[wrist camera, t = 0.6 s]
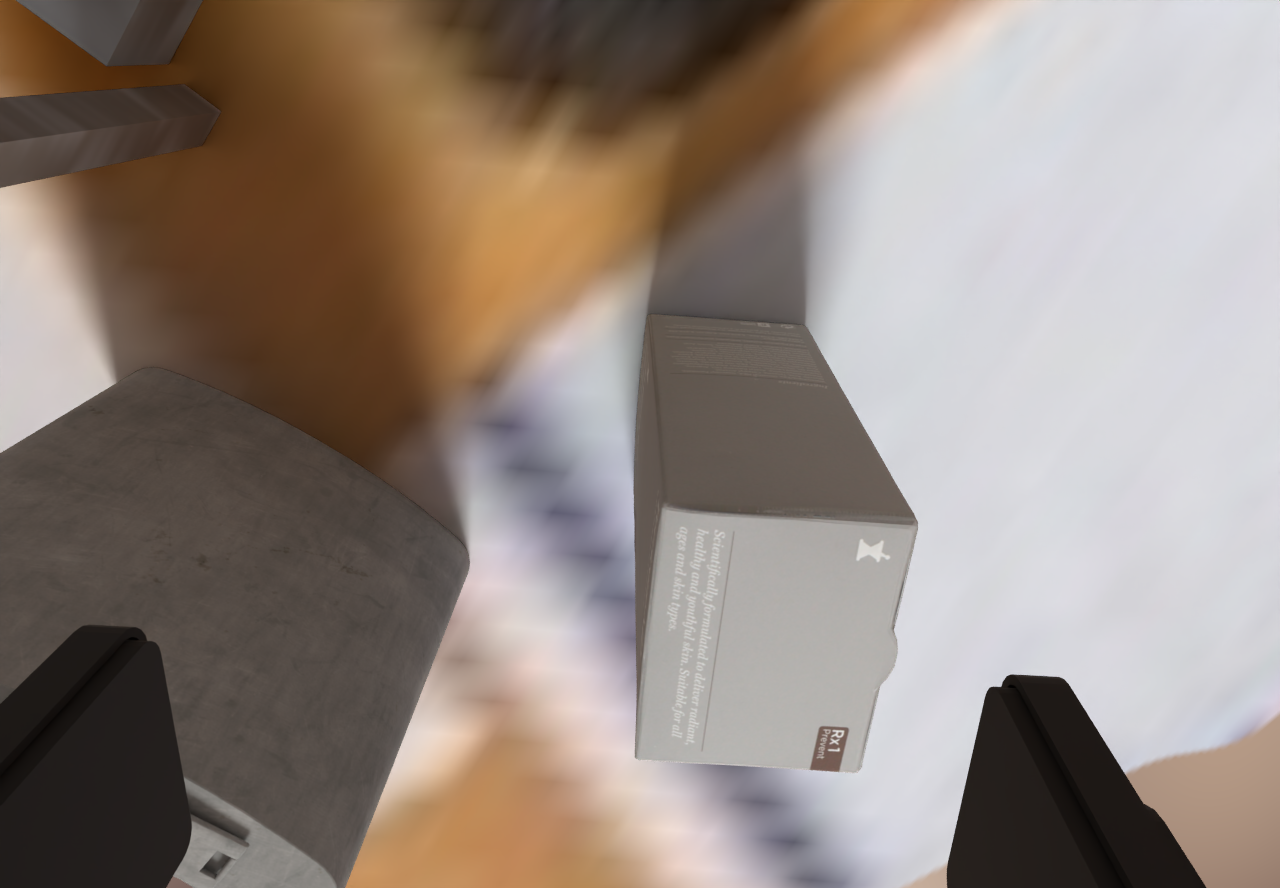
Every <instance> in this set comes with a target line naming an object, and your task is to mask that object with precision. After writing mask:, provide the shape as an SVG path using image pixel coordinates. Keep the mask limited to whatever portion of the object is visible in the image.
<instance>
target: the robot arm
mask: <svg viewBox="0 0 1280 888" xmlns="http://www.w3.org/2000/svg"><path fill="white" fill-rule="evenodd" d="M191 832H192V821H191V815H190V809H189V804H188V798H187V793H186V787H185V782H184V776H183V771H182V765H181V760H180V754H179V749H178V743H177V738H176V732H175V727H174V721H173V716H172V710H171V705H170V699H169V694H168V688H167V683H166V677H165V672H164V666H163V661H162V655H161V651H160V648H159V646H158V645H157V643H156V642H153V641H147V638H146V635H145V634H144V632H143V631H142V630H141V629H139V628H137V627H124V626H106V625H84V626H81V627H80V628H79V629H77V630H76V631H74V632H73V633H72V634H71V635H70V636H69V637H68V638H67V639H66V640H65V641H64V642H63V643H62V644H61V645H60V646H59V647H58V648H57V649H56V650H55V651H54V652H53V653H52V654H51V655H50V656H49V657H48V658H47V659H46V660H45V661H44V662H43V663H42V664H41V665H40V666H39V667H38V668H37V669H36V670H34V671H33V672H32V673H31V674H30V675H29V676H28V677H27V678H26V679H25V680H24V681H23V682H22V683H21V684H20V685H19V686H18V687H17V688H16V689H15V690H14V691H13V692H12V693H11V694H10V695H9V696H8V697H7V698H6V699H5V700H4V701H3V702H2V703H1V704H0V888H166V887H167V885H168V883H169V881H170V880H171V878H172V877H173V875H174V873H175V872H176V870H177V868H178V867H179V865H180V864H181V862H182V860H183V858H184V856H185V854H186V852H187V849H188V847H189V843H190V839H191ZM947 888H1206V887H1205V885H1204V883H1203V882H1202V880H1201V878H1200V877H1199V876H1198V874H1197V872H1196V871H1195V869H1194V868H1193V866H1192V864H1191V863H1190V861H1189V860H1188V859H1187V857H1186V855H1185V853H1184V852H1183V850H1182V849H1181V847H1180V846H1179V844H1178V843H1177V841H1176V839H1175V838H1174V836H1173V835H1172V833H1171V832H1170V830H1169V828H1168V827H1167V825H1166V824H1165V822H1164V821H1163V820H1162V818H1161V817H1160V816H1159V815H1158V814H1157V812H1156V811H1155V810H1154V809H1152V808H1150V807H1148V806H1147V805H1145V804H1143V802H1142V801H1141V799H1140V798H1139V796H1138V794H1137V793H1136V791H1135V789H1134V788H1133V787H1132V785H1131V783H1130V781H1129V780H1128V778H1127V777H1126V775H1125V773H1124V772H1123V770H1122V769H1121V767H1120V766H1119V764H1118V762H1117V761H1116V759H1115V758H1114V756H1113V754H1112V753H1111V751H1110V750H1109V748H1108V746H1107V745H1106V743H1105V742H1104V740H1103V738H1102V737H1101V735H1100V734H1099V732H1098V730H1097V729H1096V727H1095V726H1094V724H1093V722H1092V721H1091V719H1090V718H1089V716H1088V714H1087V713H1086V711H1085V710H1084V708H1083V706H1082V705H1081V703H1080V702H1079V700H1078V698H1077V697H1076V695H1075V694H1074V692H1073V690H1072V689H1071V687H1070V686H1069V684H1068V683H1067V682H1066V681H1065V680H1064V679H1062V678H1060V677H1048V676H1030V675H1009V676H1007V677H1006V678H1005V680H1004V681H1003V684H1002V687H991V688H989V690H988V691H987V693H986V696H985V700H984V705H983V709H982V713H981V718H980V722H979V727H978V731H977V736H976V740H975V745H974V749H973V754H972V758H971V762H970V767H969V771H968V776H967V780H966V785H965V789H964V794H963V798H962V803H961V807H960V811H959V816H958V820H957V825H956V829H955V834H954V838H953V843H952V847H951V852H950V856H949V860H948V866H947Z"/></svg>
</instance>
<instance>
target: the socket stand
mask: <svg viewBox="0 0 1280 888" xmlns="http://www.w3.org/2000/svg"><path fill="white" fill-rule="evenodd" d="M16 1H18V2H19V3H20V4H22V5H23V6H25V7H26V8H27V9H29V10H30V11H31V12H33V13H34V14H35V15H37V16H38V17H40V18H41V19H42V20H44V21H45V22H46V23H48V24H49V25H51V26H52V27H53V28H55V29H56V30H57V31H59V32H60V33H62V34H63V35H64V36H66V37H67V38H68V39H70V40H71V41H72V42H74V43H75V44H77V45H78V46H79V47H81V48H82V49H83V50H85V51H86V52H88V53H89V54H90V55H92V56H93V57H94V58H96V59H97V60H99V61H100V62H101V63H103V64H104V65H105V66H130V65H161V64H169V63H170V61H171V59H172V57H173V55H174V53H175V51H176V50H177V48H178V46H179V44H180V42H181V40H182V38H183V37H184V35H185V33H186V31H187V29H188V27H189V25H190V24H191V22H192V20H193V18H194V16H195V14H196V12H197V10H198V9H199V7H200V5H201V3H202V1H203V0H16ZM220 113H221V111H220V110H219V109H217V108H216V107H214V106H213V105H212V104H210V103H209V102H208V101H206V100H205V99H204V98H202V97H201V96H200V95H198V94H197V93H196V92H194V91H193V90H192V89H190V88H189V87H187V86H186V85H185V84H179V85H166V86H153V87H139V88H126V89H112V90H99V91H85V92H72V93H58V94H45V95H31V96H18V97H5V98H0V188H1V187H6V186H11V185H16V184H21V183H25V182H30V181H35V180H40V179H45V178H49V177H54V176H59V175H64V174H69V173H74V172H78V171H83V170H88V169H93V168H98V167H102V166H107V165H112V164H117V163H122V162H126V161H131V160H136V159H141V158H146V157H150V156H155V155H160V154H165V153H170V152H174V151H179V150H184V149H189V148H194V147H198V146H202V145H203V143H204V141H205V140H206V138H207V136H208V134H209V132H210V131H211V129H212V127H213V125H214V124H215V122H216V120H217V118H218V117H219V115H220Z"/></svg>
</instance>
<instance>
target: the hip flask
mask: <svg viewBox="0 0 1280 888" xmlns="http://www.w3.org/2000/svg"><path fill="white" fill-rule="evenodd" d="M469 565H470V561H469V555H468V553H467V550H466V548H465V547H464V545H463V544H462V543H461V542H460V540H459V539H458V538H456V537H455V536H454V535H453V534H452V533H451V532H449V531H448V530H447V529H446V528H445V527H444V526H442V525H441V524H440V523H439V522H438V521H436V520H435V519H434V518H433V517H431V516H430V515H429V514H428V513H426V512H425V511H424V510H423V509H421V508H420V507H419V506H418V505H416V504H415V503H414V502H412V501H411V500H409V499H408V498H407V497H405V496H404V495H403V494H401V493H400V492H398V491H397V490H396V489H394V488H393V487H391V486H390V485H388V484H387V483H386V482H384V481H383V480H381V479H380V478H378V477H377V476H375V475H374V474H373V473H371V472H369V471H368V470H366V469H365V468H363V467H362V466H360V465H358V464H357V463H355V462H354V461H352V460H351V459H349V458H347V457H346V456H344V455H342V454H341V453H339V452H337V451H336V450H334V449H332V448H331V447H329V446H327V445H326V444H324V443H322V442H320V441H319V440H317V439H315V438H313V437H312V436H310V435H308V434H306V433H305V432H303V431H301V430H299V429H297V428H296V427H294V426H292V425H290V424H288V423H286V422H284V421H282V420H281V419H279V418H277V417H275V416H273V415H271V414H269V413H267V412H265V411H263V410H261V409H259V408H257V407H254V406H252V405H250V404H248V403H246V402H244V401H242V400H240V399H237V398H235V397H233V396H231V395H229V394H226V393H224V392H222V391H220V390H217V389H215V388H212V387H210V386H207V385H205V384H202V383H200V382H198V381H195V380H193V379H190V378H187V377H185V376H182V375H179V374H176V373H174V372H171V371H168V370H165V369H161V368H153V367H151V368H144V369H141V370H138V371H136V372H134V373H133V374H131V375H129V376H128V377H126V378H124V379H123V380H121V381H119V382H118V383H116V384H114V385H113V386H111V387H109V388H108V389H106V390H104V391H103V392H101V393H99V394H98V395H96V396H94V397H93V398H91V399H90V400H88V401H86V402H85V403H83V404H81V405H80V406H78V407H76V408H75V409H73V410H71V411H70V412H68V413H66V414H65V415H63V416H61V417H60V418H58V419H56V420H55V421H53V422H51V423H50V424H48V425H46V426H45V427H43V428H41V429H40V430H38V431H36V432H35V433H33V434H31V435H30V436H28V437H26V438H25V439H23V440H21V441H20V442H18V443H17V444H15V445H13V446H12V447H10V448H8V449H7V450H5V451H3V452H2V453H0V704H1V703H2V702H3V701H4V700H5V699H6V698H7V697H8V696H9V695H10V694H11V693H12V692H13V691H14V690H15V689H16V688H17V687H18V686H19V685H20V684H21V683H22V682H23V681H24V680H25V679H26V678H27V677H28V676H29V675H30V674H31V673H32V672H33V671H34V670H36V669H37V668H38V667H39V666H40V665H41V664H42V663H43V662H44V661H45V660H46V659H47V658H48V657H49V656H50V655H51V654H52V653H53V652H54V651H55V650H56V649H57V648H58V647H59V646H60V645H61V644H62V643H63V642H64V641H65V640H66V639H67V638H68V637H69V636H70V635H71V634H72V633H73V632H74V631H76V630H77V629H79V628H80V627H81V626H84V625H106V626H124V627H137V628H139V629H141V630H142V631H143V632H144V634H145V635H146V638H147V641H153V642H156V643H157V645H158V646H159V648H160V651H161V655H162V661H163V666H164V672H165V677H166V683H167V688H168V694H169V699H170V705H171V710H172V716H173V721H174V727H175V732H176V738H177V743H178V749H179V754H180V760H181V765H182V771H183V776H184V782H185V787H186V793H187V798H188V804H189V809H190V815H191V821H192V832H191V839H190V843H189V847H188V849H187V852H186V854H185V856H184V858H183V860H182V862H181V864H180V865H179V867H178V868H177V870H176V872H175V873H174V875H173V876H174V877H176V878H178V879H180V880H182V881H184V882H185V883H187V884H188V885H190V886H192V887H193V888H345V887H346V884H347V882H348V879H349V876H350V874H351V871H352V869H353V866H354V864H355V861H356V859H357V856H358V853H359V851H360V848H361V846H362V843H363V841H364V838H365V835H366V833H367V830H368V828H369V825H370V823H371V820H372V818H373V815H374V812H375V810H376V807H377V805H378V802H379V800H380V797H381V794H382V792H383V789H384V787H385V784H386V782H387V779H388V776H389V774H390V771H391V769H392V766H393V764H394V761H395V759H396V756H397V753H398V751H399V748H400V746H401V743H402V741H403V738H404V735H405V733H406V730H407V728H408V725H409V723H410V720H411V718H412V715H413V712H414V710H415V707H416V705H417V702H418V700H419V697H420V694H421V692H422V689H423V687H424V684H425V682H426V679H427V677H428V674H429V671H430V669H431V666H432V664H433V661H434V659H435V656H436V653H437V651H438V648H439V646H440V643H441V641H442V638H443V636H444V633H445V630H446V628H447V625H448V623H449V620H450V618H451V615H452V612H453V610H454V607H455V605H456V602H457V600H458V597H459V595H460V592H461V589H462V587H463V584H464V582H465V579H466V577H467V574H468V571H469Z"/></svg>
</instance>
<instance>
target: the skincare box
mask: <svg viewBox="0 0 1280 888" xmlns="http://www.w3.org/2000/svg"><path fill="white" fill-rule="evenodd" d="M634 520H635V612H636V670H637V708H636V736H635V758H636V759H638V760H645V761H660V762H678V763H697V764H717V765H737V766H753V767H769V768H784V769H800V770H816V771H830V772H845V773H858V772H859V770H860V769H861V767H862V762H863V758H864V753H865V749H866V745H867V741H868V736H869V732H870V728H871V724H872V719H873V715H874V711H875V706H876V702H877V697H878V693H879V688H880V686H881V684H882V683H883V682H884V681H885V680H886V679H887V678H888V676H889V675H890V673H891V672H892V670H893V668H894V666H895V662H896V658H897V639H896V636H895V633H894V627H895V623H896V619H897V616H898V612H899V608H900V603H901V599H902V595H903V591H904V587H905V583H906V578H907V574H908V569H909V565H910V561H911V556H912V552H913V548H914V543H915V539H916V535H917V530H918V522H917V520H916V518H915V515H914V513H913V512H912V510H911V508H910V507H909V505H908V504H907V502H906V500H905V498H904V497H903V495H902V493H901V492H900V490H899V488H898V486H897V485H896V483H895V481H894V479H893V478H892V476H891V474H890V472H889V471H888V469H887V467H886V465H885V464H884V462H883V460H882V458H881V456H880V455H879V453H878V451H877V450H876V448H875V446H874V444H873V443H872V441H871V439H870V437H869V436H868V434H867V432H866V431H865V429H864V427H863V425H862V424H861V422H860V420H859V418H858V417H857V415H856V413H855V411H854V409H853V408H852V406H851V404H850V403H849V401H848V399H847V397H846V396H845V394H844V392H843V390H842V389H841V387H840V385H839V383H838V382H837V380H836V378H835V376H834V374H833V373H832V371H831V369H830V367H829V365H828V364H827V362H826V360H825V359H824V357H823V355H822V353H821V352H820V350H819V348H818V346H817V344H816V343H815V341H814V339H813V337H812V335H811V334H810V332H809V330H808V328H807V327H806V326H804V325H797V324H781V323H768V322H755V321H740V320H726V319H713V318H701V317H687V316H672V315H657V314H650V315H648V316H647V319H646V327H645V336H644V344H643V353H642V362H641V372H640V382H639V392H638V404H637V417H636V433H635V457H634Z"/></svg>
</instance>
